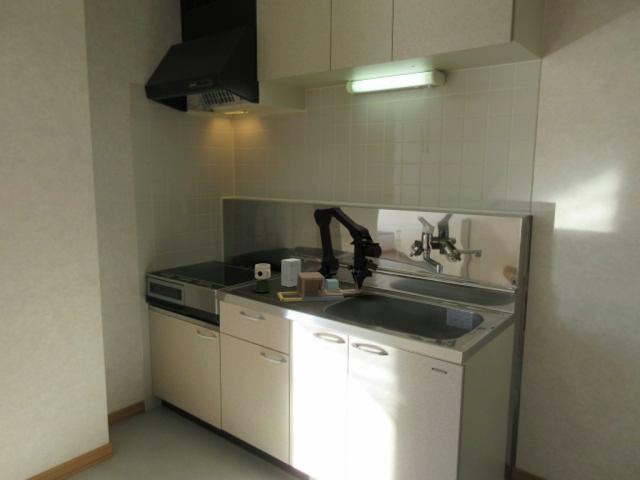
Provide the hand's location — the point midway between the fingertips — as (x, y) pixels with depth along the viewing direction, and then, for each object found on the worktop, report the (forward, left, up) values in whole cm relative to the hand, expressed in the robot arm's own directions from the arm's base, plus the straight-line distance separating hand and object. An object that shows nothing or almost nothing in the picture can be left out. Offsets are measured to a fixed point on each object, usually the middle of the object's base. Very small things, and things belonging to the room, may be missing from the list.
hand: (358, 288), depth 214 cm
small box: (-27, -27, -4) cm, 38 cm away
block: (0, -13, -1) cm, 13 cm away
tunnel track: (0, -23, -4) cm, 23 cm away
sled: (0, -8, -2) cm, 8 cm away
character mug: (-14, -43, -4) cm, 45 cm away
